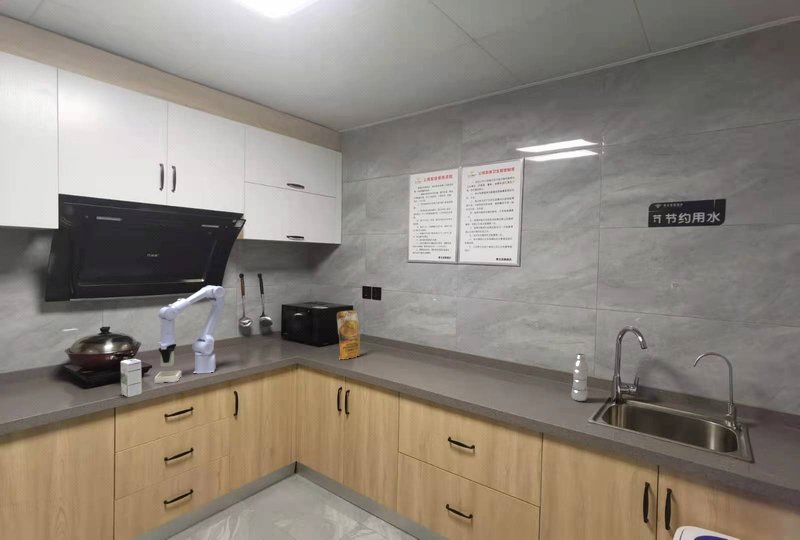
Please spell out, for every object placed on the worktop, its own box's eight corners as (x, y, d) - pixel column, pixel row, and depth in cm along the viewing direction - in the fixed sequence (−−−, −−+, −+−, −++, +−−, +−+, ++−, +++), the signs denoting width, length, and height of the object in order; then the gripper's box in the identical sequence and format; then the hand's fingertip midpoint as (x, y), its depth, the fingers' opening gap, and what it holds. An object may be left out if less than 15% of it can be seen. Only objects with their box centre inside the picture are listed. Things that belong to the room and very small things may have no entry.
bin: (181, 376, 197) (181, 370, 197) (177, 382, 188) (177, 376, 188) (160, 378, 194) (160, 371, 194) (154, 383, 185) (154, 377, 185)
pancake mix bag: (332, 359, 236) (333, 311, 235) (356, 353, 250) (357, 308, 249) (339, 361, 231) (340, 312, 231) (363, 355, 246) (364, 310, 245)
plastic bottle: (568, 400, 175) (570, 354, 175) (574, 396, 180) (576, 351, 179) (583, 404, 171) (585, 357, 170) (589, 400, 175) (591, 354, 175)
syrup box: (142, 393, 172) (142, 359, 172) (127, 397, 167) (127, 362, 166) (135, 391, 175) (135, 358, 174) (120, 395, 170) (120, 360, 169)
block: (173, 363, 194) (173, 350, 194) (171, 365, 190) (171, 353, 190) (163, 363, 193) (163, 351, 193) (160, 366, 188) (160, 353, 188)
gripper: (162, 330, 197) (162, 357, 197) (153, 335, 183) (153, 365, 183) (178, 329, 199) (178, 357, 199) (171, 335, 185) (171, 364, 185)
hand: (167, 361), depth 191 cm, fingers closed on block, 4 cm apart
